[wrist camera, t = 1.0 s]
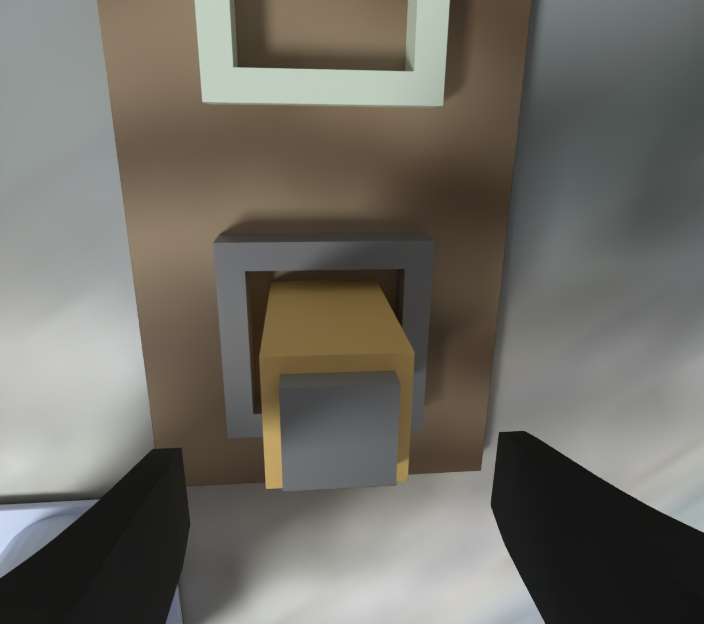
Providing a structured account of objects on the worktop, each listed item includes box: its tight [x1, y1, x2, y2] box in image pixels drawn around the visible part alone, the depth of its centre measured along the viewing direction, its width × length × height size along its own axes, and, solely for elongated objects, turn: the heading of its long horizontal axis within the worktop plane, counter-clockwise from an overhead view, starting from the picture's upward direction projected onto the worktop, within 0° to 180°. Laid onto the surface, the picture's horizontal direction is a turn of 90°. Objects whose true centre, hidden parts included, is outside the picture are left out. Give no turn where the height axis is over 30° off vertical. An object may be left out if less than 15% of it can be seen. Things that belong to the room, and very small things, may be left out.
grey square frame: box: [213, 233, 434, 438], centre depth 20 cm, size 8×8×2 cm
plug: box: [259, 280, 415, 492], centre depth 17 cm, size 4×4×8 cm
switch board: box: [97, 0, 532, 486], centre depth 19 cm, size 26×14×1 cm, turn 179°
